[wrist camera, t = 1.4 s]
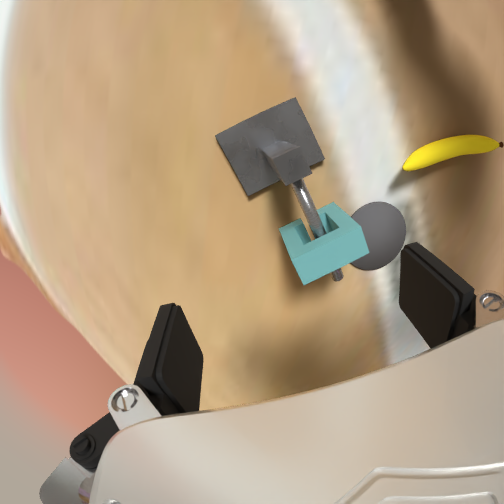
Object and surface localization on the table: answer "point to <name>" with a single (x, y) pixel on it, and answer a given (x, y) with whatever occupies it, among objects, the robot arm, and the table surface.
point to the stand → (276, 156)
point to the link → (324, 244)
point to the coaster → (380, 234)
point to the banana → (449, 150)
